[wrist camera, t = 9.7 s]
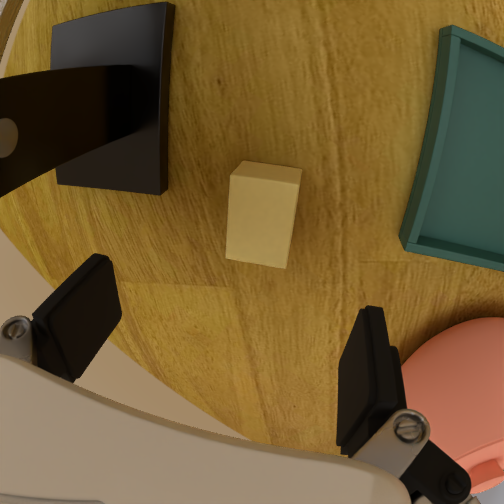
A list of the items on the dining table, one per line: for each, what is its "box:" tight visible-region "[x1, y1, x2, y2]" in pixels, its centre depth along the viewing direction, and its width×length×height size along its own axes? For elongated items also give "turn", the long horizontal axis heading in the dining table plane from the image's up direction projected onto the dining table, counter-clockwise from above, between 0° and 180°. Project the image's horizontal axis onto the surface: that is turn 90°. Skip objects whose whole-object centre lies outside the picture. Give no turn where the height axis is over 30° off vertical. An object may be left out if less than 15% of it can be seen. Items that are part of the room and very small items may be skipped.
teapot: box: [401, 317, 504, 494], centre depth 17 cm, size 22×16×12 cm
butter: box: [225, 161, 302, 269], centre depth 18 cm, size 5×4×3 cm
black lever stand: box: [0, 2, 175, 198], centre depth 12 cm, size 12×9×13 cm
